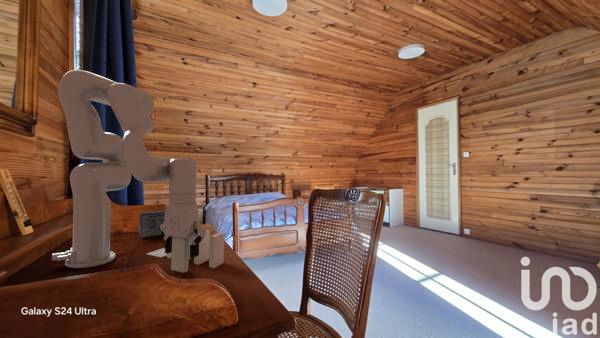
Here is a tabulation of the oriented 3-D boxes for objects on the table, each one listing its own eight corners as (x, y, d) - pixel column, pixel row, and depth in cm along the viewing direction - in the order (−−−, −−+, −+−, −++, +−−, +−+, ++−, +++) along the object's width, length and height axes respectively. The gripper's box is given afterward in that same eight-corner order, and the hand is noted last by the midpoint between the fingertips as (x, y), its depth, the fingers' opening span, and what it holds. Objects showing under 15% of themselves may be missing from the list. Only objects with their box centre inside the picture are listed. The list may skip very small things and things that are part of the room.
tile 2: (194, 263, 85) (195, 233, 84) (204, 258, 89) (205, 230, 89) (198, 264, 84) (199, 234, 84) (208, 259, 89) (210, 230, 88)
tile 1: (209, 267, 82) (210, 235, 82) (219, 261, 87) (220, 232, 87) (213, 268, 82) (214, 236, 82) (223, 262, 87) (224, 233, 86)
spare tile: (183, 272, 77) (184, 239, 77) (171, 269, 79) (172, 237, 79) (188, 270, 79) (189, 238, 79) (175, 267, 81) (176, 235, 81)
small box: (164, 232, 120) (165, 209, 120) (168, 235, 115) (169, 211, 115) (138, 235, 113) (139, 211, 113) (140, 238, 108) (141, 214, 108)
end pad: (146, 254, 91) (146, 253, 91) (163, 248, 98) (163, 248, 98) (160, 257, 89) (160, 257, 89) (177, 251, 95) (177, 251, 95)
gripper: (151, 198, 78) (150, 254, 79) (196, 202, 72) (195, 263, 72) (171, 195, 85) (170, 247, 86) (213, 199, 79) (213, 254, 79)
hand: (181, 254), depth 79 cm, fingers open, 9 cm apart
